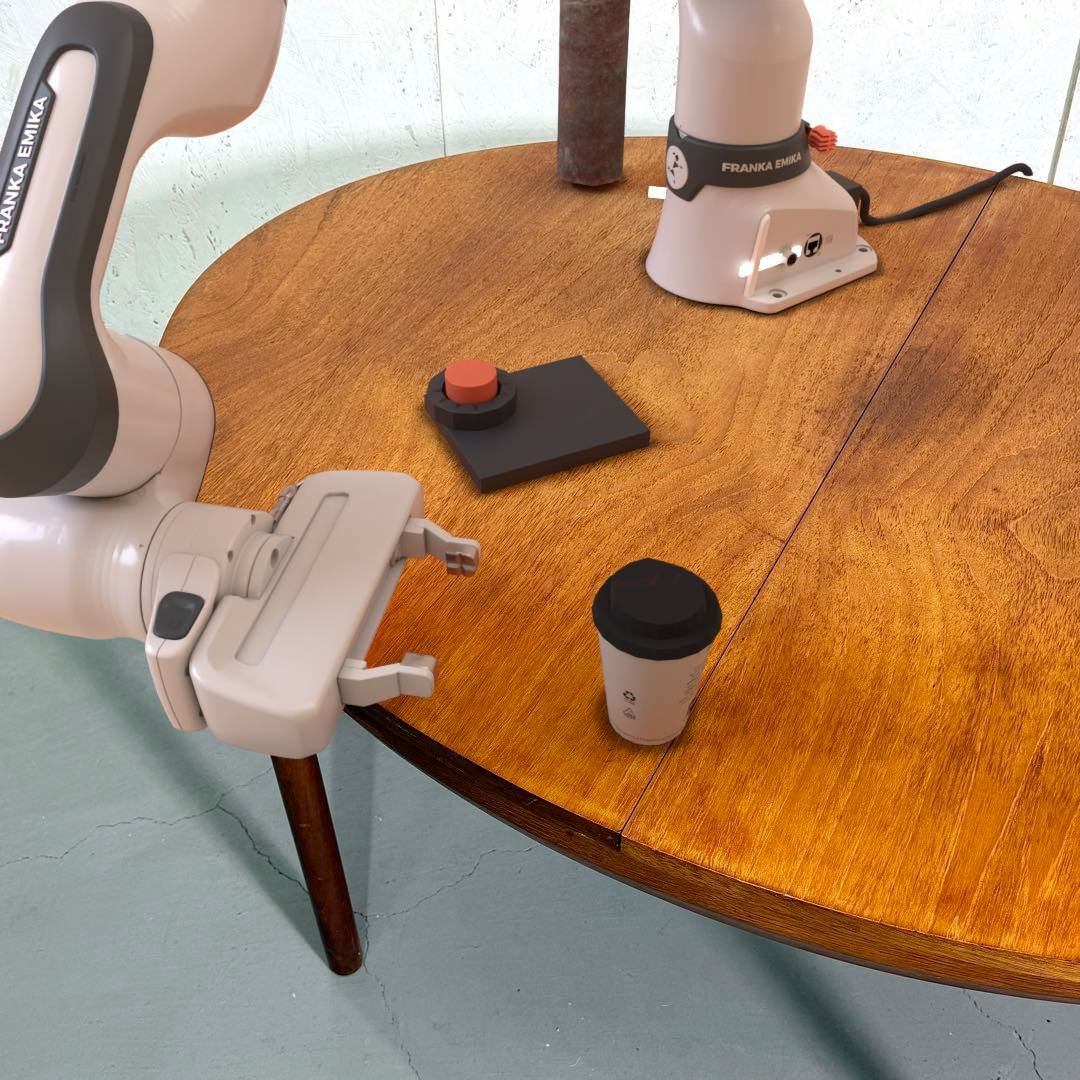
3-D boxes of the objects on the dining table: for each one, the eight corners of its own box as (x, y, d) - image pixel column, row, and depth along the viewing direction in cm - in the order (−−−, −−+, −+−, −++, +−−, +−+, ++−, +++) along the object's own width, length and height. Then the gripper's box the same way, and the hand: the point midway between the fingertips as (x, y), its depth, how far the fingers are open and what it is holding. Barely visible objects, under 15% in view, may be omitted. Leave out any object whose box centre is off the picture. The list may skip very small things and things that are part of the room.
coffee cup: (731, 728, 61) (754, 606, 55) (633, 782, 58) (644, 660, 52) (659, 652, 66) (671, 531, 59) (564, 699, 63) (566, 577, 56)
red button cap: (485, 372, 85) (484, 353, 84) (505, 398, 82) (504, 379, 81) (438, 384, 84) (437, 365, 82) (457, 411, 81) (455, 391, 80)
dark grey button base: (578, 366, 90) (578, 335, 88) (649, 445, 82) (652, 412, 80) (417, 407, 86) (414, 375, 84) (475, 495, 77) (473, 462, 75)
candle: (617, 198, 115) (625, -2, 102) (550, 193, 116) (551, -6, 103) (626, 170, 121) (636, -23, 108) (563, 165, 122) (565, -26, 109)
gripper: (300, 511, 71) (501, 537, 69) (161, 753, 56) (411, 796, 54) (285, 434, 67) (498, 460, 65) (130, 675, 52) (400, 717, 50)
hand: (458, 615), depth 60 cm, fingers open, 8 cm apart
